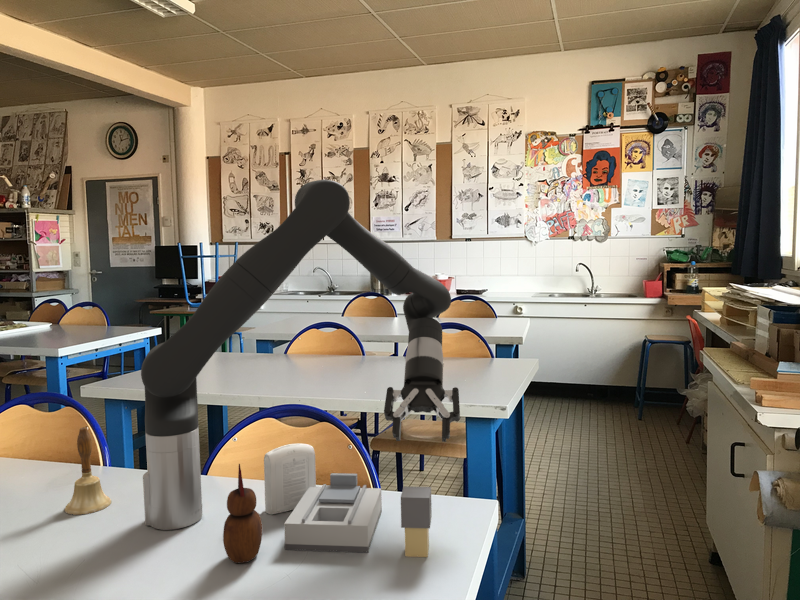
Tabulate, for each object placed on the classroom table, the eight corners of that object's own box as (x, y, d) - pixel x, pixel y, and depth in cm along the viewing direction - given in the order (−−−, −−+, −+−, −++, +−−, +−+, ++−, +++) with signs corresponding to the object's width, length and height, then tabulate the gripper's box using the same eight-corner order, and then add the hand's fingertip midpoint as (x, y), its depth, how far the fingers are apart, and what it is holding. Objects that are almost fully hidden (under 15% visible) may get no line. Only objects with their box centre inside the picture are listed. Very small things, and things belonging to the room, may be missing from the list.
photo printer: (310, 497, 122) (308, 437, 121) (319, 504, 118) (318, 442, 118) (262, 510, 116) (259, 447, 116) (270, 517, 113) (267, 453, 112)
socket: (285, 549, 100) (284, 520, 100) (310, 509, 116) (309, 483, 116) (368, 552, 99) (367, 522, 98) (381, 511, 114) (381, 485, 114)
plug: (401, 557, 97) (400, 497, 96) (404, 544, 101) (403, 486, 101) (430, 558, 96) (429, 497, 95) (432, 545, 101) (431, 486, 100)
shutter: (318, 502, 108) (318, 487, 107) (328, 486, 115) (327, 473, 115) (354, 502, 107) (353, 488, 107) (361, 487, 114) (360, 473, 114)
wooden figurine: (232, 547, 101) (229, 460, 100) (266, 547, 101) (263, 460, 100) (219, 568, 95) (215, 475, 94) (255, 568, 94) (252, 474, 93)
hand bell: (114, 507, 119) (110, 428, 118) (67, 518, 114) (61, 436, 113) (107, 494, 126) (103, 419, 125) (62, 504, 121) (57, 426, 120)
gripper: (386, 354, 118) (379, 428, 107) (459, 354, 116) (460, 429, 106) (390, 375, 123) (384, 448, 113) (460, 376, 122) (460, 449, 111)
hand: (420, 439), depth 109 cm, fingers open, 8 cm apart
